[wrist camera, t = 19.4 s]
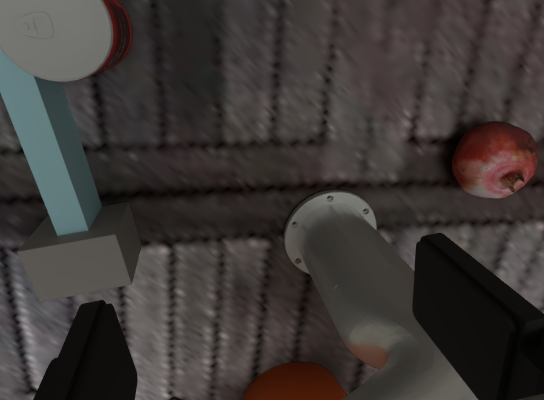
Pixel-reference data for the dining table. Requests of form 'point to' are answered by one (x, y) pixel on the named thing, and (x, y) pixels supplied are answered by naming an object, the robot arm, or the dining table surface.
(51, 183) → the teal gray angled bar
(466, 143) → the fruit
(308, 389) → the flowerpot
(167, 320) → the dining table surface
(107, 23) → the canned food
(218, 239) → the dining table surface
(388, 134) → the dining table surface
